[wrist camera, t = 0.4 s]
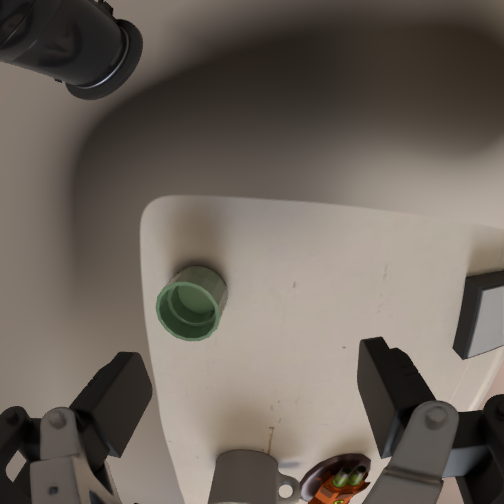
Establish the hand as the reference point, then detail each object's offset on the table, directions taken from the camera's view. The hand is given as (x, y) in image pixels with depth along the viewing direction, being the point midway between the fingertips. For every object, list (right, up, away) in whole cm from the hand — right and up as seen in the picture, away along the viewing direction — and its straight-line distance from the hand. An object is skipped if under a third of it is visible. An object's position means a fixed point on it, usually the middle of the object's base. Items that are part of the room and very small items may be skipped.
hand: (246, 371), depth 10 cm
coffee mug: (+1, -31, +28) cm, 41 cm away
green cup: (-5, 0, +20) cm, 21 cm away
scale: (+31, -3, +18) cm, 36 cm away
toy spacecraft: (+15, -37, +28) cm, 49 cm away
